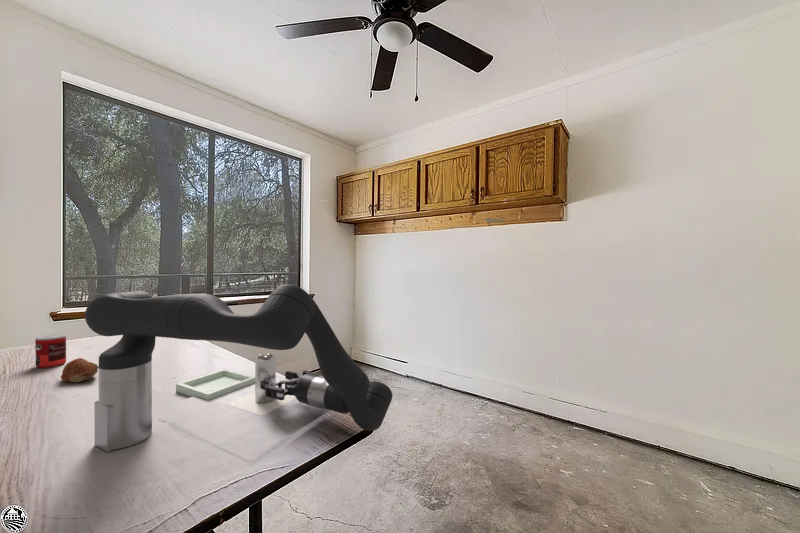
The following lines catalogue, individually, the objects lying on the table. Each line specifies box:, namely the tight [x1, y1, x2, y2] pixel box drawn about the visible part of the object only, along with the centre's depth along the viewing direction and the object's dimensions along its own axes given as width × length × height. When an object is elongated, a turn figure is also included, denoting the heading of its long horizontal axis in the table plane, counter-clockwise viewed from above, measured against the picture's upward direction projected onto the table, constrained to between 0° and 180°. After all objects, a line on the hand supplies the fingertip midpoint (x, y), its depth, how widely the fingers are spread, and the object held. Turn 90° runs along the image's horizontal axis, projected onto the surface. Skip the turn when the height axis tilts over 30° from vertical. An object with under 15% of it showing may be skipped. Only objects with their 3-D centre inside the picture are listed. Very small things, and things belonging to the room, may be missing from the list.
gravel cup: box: [254, 353, 277, 404], centre depth 93 cm, size 5×5×13 cm
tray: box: [175, 368, 255, 401], centre depth 104 cm, size 16×16×2 cm
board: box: [227, 392, 297, 417], centre depth 94 cm, size 14×14×1 cm
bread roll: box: [60, 357, 99, 383], centre depth 110 cm, size 13×8×10 cm
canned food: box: [34, 333, 67, 369], centre depth 123 cm, size 8×8×11 cm
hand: (274, 379), depth 92 cm, fingers open, 8 cm apart
